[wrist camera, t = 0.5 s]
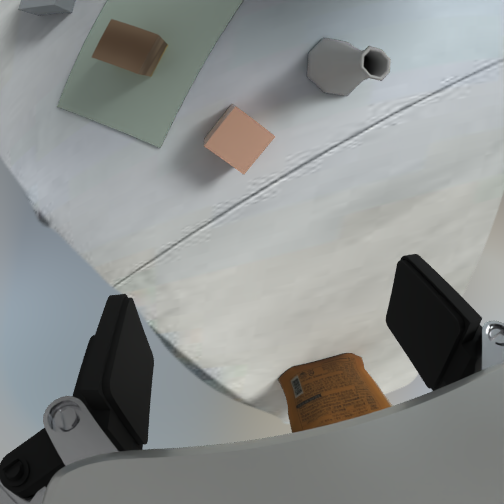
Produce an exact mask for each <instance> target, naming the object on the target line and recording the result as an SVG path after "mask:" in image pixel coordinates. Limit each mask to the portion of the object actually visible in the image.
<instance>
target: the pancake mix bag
mask: <svg viewBox="0 0 504 504" xmlns="http://www.w3.org/2000/svg"><path fill="white" fill-rule="evenodd" d="M278 381H279V383H280V384H281V386H282V389H283V391H284V393H285V396H286V400H287V404H288V416H289V420H290V425H291V429H292V433H294V432H299V431H304V430H309V429H313V428H317V427H322V426H326V425H330V424H334V423H338V422H342V421H345V420H349V419H353V418H356V417H360V416H363V415H366V414H370V413H373V412H376V411H379V410H382V409H385V408H388V407H391V406H392V404H391V403H390V402H389V400H388V399H387V398H386V396H385V395H384V394H383V392H382V391H381V389H380V388H379V386H378V385H377V383H376V382H375V381H374V380H373V379H372V377H371V376H370V375H369V374H368V372H367V371H366V370H365V369H364V364H363V360H362V357H359V356H357V355H355V354H353V353H344V354H340V355H337V356H333V357H330V358H326V359H322V360H319V361H315V362H311V363H307V364H302V365H298V366H293V367H291V368H290V369H288V370H287V371H285V372H284V373H283V374H282V375H281V377H280V378H279V379H278Z"/></svg>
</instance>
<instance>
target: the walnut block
mask: <svg viewBox="0 0 504 504" xmlns="http://www.w3.org/2000/svg"><path fill="white" fill-rule="evenodd" d="M167 47H168V44H167V43H166V42H165V41H164V40H163V39H162V38H161V37H160V36H159V35H158V34H155V33H152V32H150V31H147V30H144V29H141V28H138V27H135V26H132V25H129V24H126V23H123V22H120V21H117V20H114V19H111V20H110V22H109V24H108V26H107V27H106V29H105V31H104V33H103V35H102V37H101V39H100V41H99V43H98V45H97V47H96V49H95V51H94V53H93V55H92V58H95V59H98V60H101V61H103V62H106V63H109V64H112V65H115V66H118V67H120V68H123V69H126V70H128V71H131V72H134V73H136V74H140V75H145V76H150V77H151V76H152V74H153V72H154V70H155V69H156V67H157V65H158V63H159V61H160V59H161V57H162V56H163V54H164V52H165V50H166V48H167Z"/></svg>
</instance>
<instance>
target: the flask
mask: <svg viewBox="0 0 504 504" xmlns="http://www.w3.org/2000/svg"><path fill="white" fill-rule="evenodd" d="M390 62H391V59H390V58H389V57H388V56H387V55H386V54H385V53H384V51H383V50H382V49H378V48H374V47H370V46H368V47H367V48H366V49H365V50H363V51H361V50H359V49H357V48H356V47H354V46H352V45H351V44H349V43H348V42H345V41H340V40H335V39H329V38H323V39H322V40H321V41H320V42H319V43H318V44H317V45H316V46H315V47H314V48H313V49H312V50H311V51H310V52H309V53H308V66H307V77H308V78H309V79H310V80H311V81H313V82H314V83H315V84H316V85H317V86H318V87H319V88H320V89H321V90H322V91H323V92H324V93H330V94H337V95H343V96H348V95H349V94H350V93H351V92H352V91H353V90H354V89H355V87H357V86H358V85H359V84H360V83H361V82H362V81H363V80H365V79H368V78H371V79H376V80H380V81H382V80H383V79H384V78H385V77H386V76H387V75H388V73H389V72H390Z"/></svg>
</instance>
